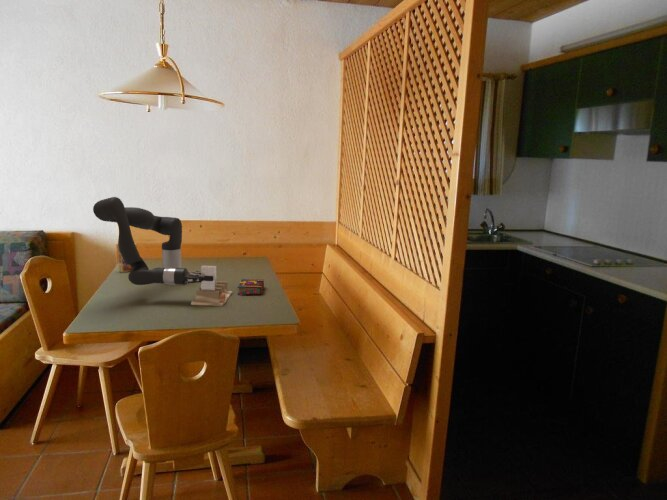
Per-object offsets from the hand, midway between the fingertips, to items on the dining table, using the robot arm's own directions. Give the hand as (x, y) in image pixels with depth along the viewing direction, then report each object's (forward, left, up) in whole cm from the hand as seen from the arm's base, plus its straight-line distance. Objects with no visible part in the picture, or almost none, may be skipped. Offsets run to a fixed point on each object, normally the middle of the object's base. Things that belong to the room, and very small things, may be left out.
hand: (214, 277), depth 231 cm
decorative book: (-20, +13, -12) cm, 27 cm away
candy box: (-53, -61, -12) cm, 82 cm away
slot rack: (-6, -2, -12) cm, 13 cm away
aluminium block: (0, -2, -8) cm, 8 cm away
